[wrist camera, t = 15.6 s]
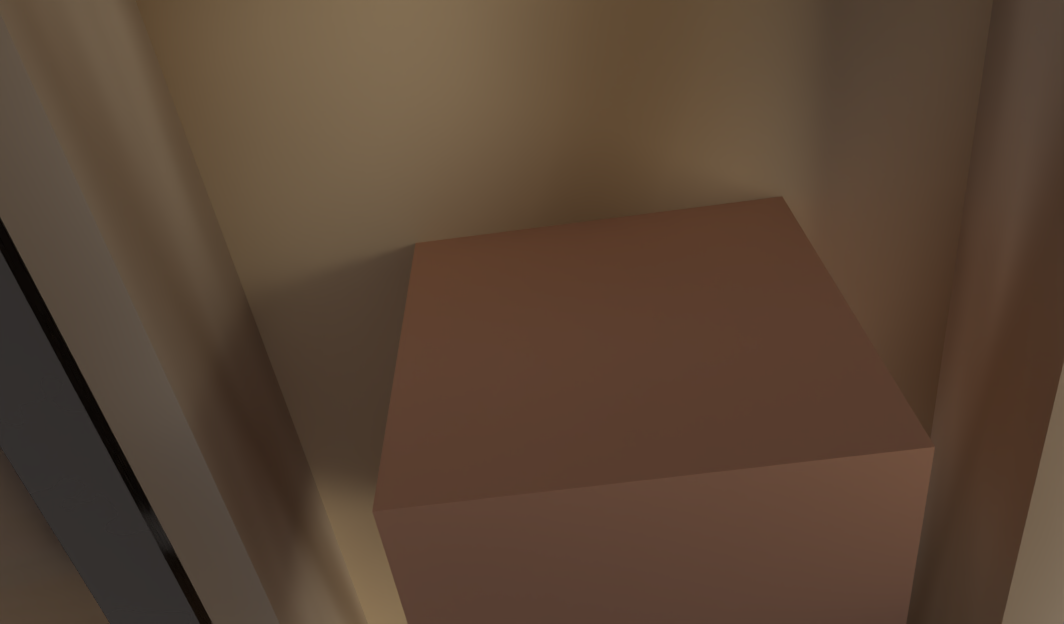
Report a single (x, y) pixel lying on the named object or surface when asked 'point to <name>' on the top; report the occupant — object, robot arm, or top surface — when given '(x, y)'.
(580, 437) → the block
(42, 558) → the top surface
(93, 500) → the framed panel
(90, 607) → the top surface
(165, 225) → the beige open rectangular box
